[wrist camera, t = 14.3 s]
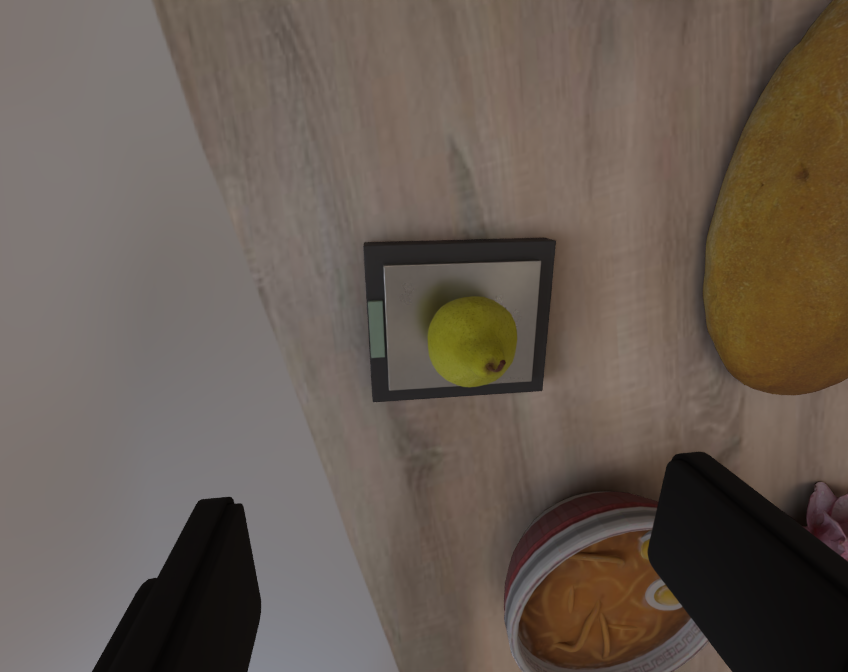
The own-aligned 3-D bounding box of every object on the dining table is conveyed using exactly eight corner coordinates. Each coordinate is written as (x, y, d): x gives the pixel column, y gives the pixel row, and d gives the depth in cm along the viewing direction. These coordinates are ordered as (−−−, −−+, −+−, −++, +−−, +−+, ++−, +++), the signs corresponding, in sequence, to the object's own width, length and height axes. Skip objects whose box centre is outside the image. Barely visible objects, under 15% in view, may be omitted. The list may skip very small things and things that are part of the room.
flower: (866, 578, 53) (961, 639, 44) (748, 589, 54) (814, 651, 44) (857, 466, 53) (952, 503, 43) (737, 479, 54) (803, 517, 44)
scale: (372, 390, 40) (372, 404, 37) (364, 242, 35) (363, 246, 33) (533, 380, 41) (544, 393, 39) (545, 237, 37) (558, 241, 34)
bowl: (691, 455, 47) (770, 520, 38) (641, 604, 54) (697, 690, 45) (497, 455, 44) (531, 526, 35) (471, 612, 51) (493, 707, 42)
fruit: (495, 365, 37) (549, 441, 26) (419, 363, 36) (440, 442, 25) (505, 289, 35) (570, 336, 23) (424, 285, 34) (451, 332, 22)
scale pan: (388, 386, 37) (389, 390, 36) (383, 264, 33) (383, 265, 33) (528, 377, 38) (531, 381, 38) (537, 259, 35) (541, 260, 34)
